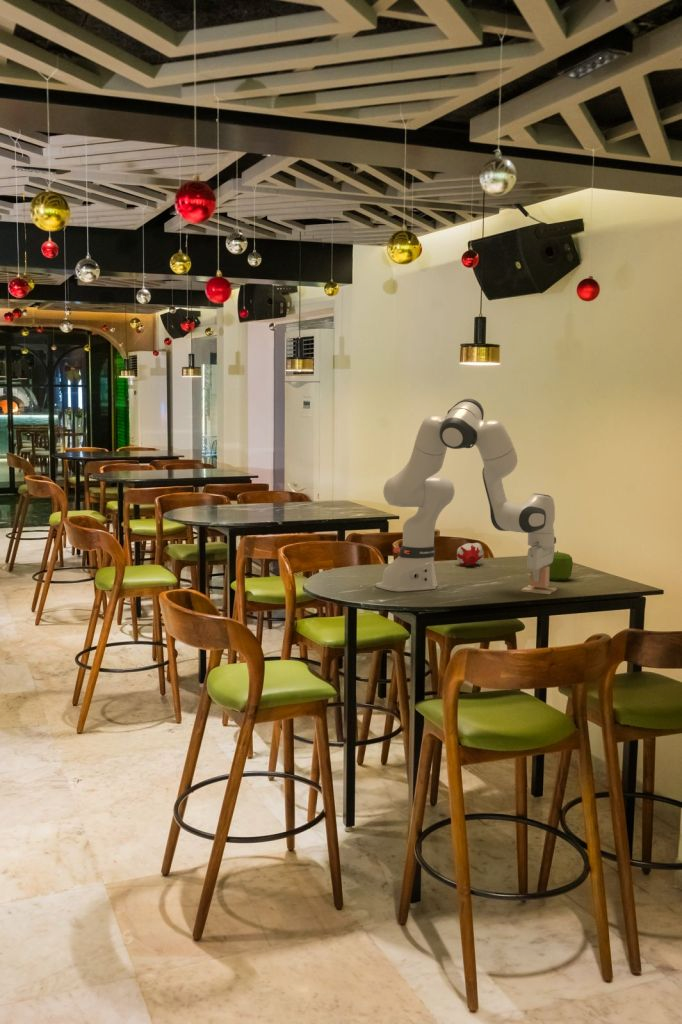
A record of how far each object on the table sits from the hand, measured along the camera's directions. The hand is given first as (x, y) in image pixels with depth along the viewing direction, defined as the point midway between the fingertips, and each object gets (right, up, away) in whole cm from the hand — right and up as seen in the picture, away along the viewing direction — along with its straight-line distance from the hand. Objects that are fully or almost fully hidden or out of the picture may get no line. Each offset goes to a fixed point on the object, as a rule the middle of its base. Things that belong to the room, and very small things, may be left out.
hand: (539, 579), depth 318 cm
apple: (+11, -2, +23) cm, 25 cm away
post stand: (0, -4, 0) cm, 4 cm away
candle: (-17, +2, +53) cm, 56 cm away
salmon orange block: (0, -2, 0) cm, 2 cm away
